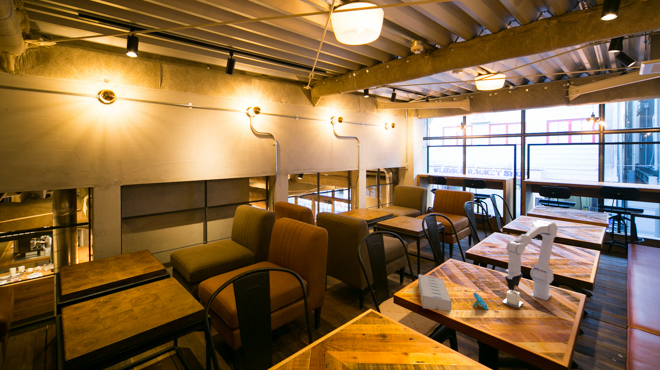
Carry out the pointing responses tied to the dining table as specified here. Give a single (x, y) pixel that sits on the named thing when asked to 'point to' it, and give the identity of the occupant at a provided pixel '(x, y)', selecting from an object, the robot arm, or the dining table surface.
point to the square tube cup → (513, 297)
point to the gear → (479, 301)
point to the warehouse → (433, 293)
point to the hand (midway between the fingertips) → (513, 287)
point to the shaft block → (513, 304)
